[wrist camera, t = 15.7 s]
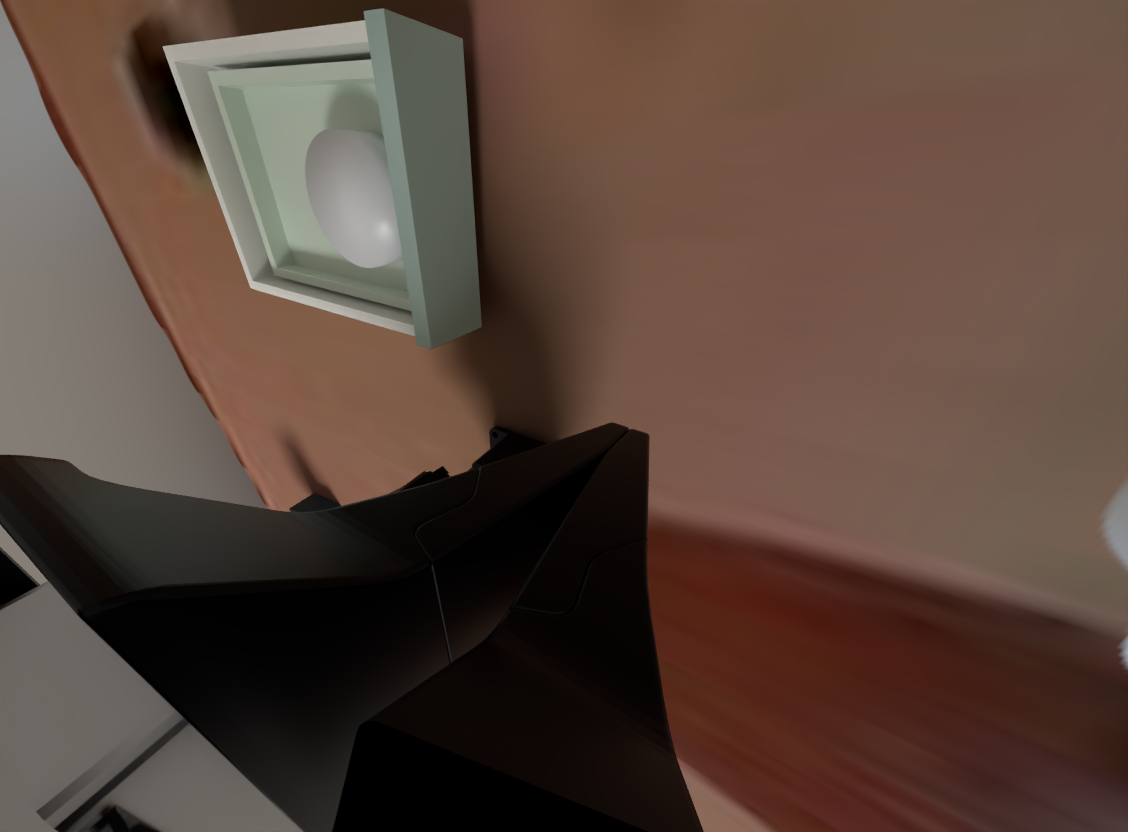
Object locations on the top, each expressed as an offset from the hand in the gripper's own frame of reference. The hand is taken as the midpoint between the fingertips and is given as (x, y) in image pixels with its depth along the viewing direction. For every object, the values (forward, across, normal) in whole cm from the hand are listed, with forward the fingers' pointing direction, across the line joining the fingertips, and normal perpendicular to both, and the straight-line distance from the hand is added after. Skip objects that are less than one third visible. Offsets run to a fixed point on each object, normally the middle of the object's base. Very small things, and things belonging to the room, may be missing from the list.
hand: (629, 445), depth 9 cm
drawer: (+11, +21, -3) cm, 23 cm away
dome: (+10, +18, -3) cm, 21 cm away
